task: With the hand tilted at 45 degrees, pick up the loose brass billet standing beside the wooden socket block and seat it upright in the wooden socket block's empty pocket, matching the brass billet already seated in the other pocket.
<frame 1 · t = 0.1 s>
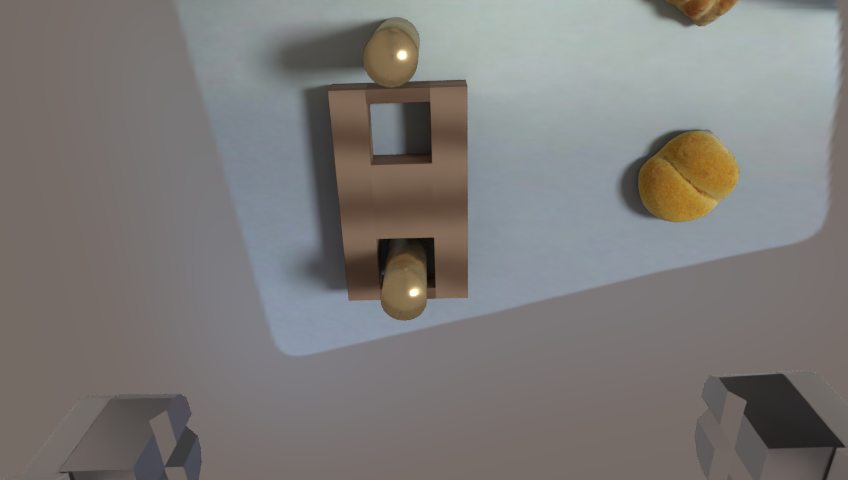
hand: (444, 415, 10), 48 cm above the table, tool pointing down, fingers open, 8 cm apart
loose billet: (397, 41, 53), on the table
bread roll: (682, 171, 58), on the table
seated billet: (407, 250, 62), resting in wooden socket block
wooden socket block: (404, 190, 59), on the table
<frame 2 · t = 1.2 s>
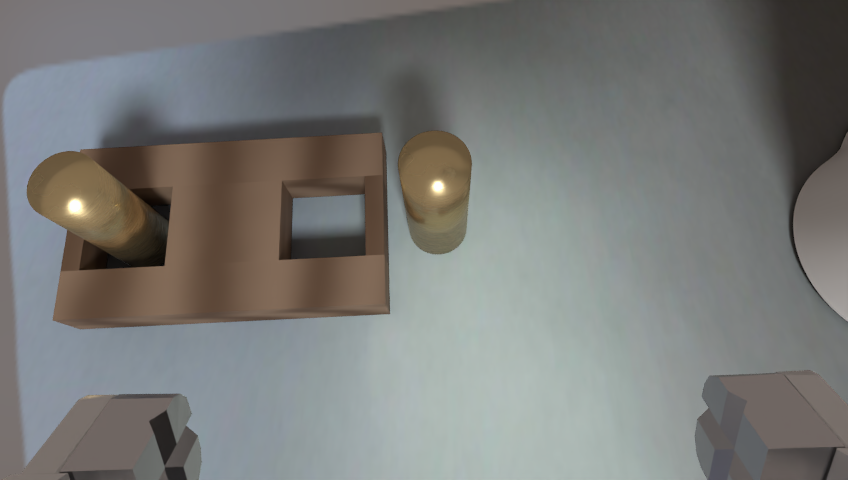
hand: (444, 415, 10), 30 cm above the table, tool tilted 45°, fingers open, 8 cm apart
loose billet: (437, 227, 42), on the table
seated billet: (148, 242, 43), resting in wooden socket block
wooden socket block: (239, 237, 42), on the table
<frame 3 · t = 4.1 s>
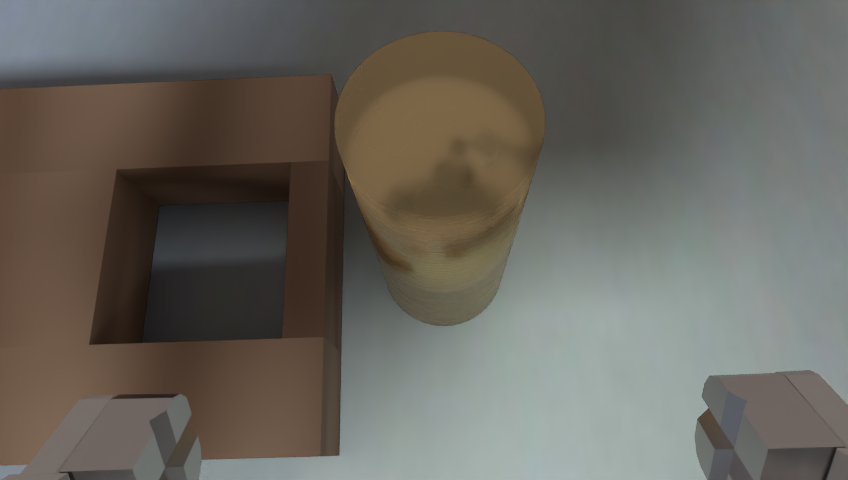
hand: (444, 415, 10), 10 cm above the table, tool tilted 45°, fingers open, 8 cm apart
loose billet: (443, 268, 21), on the table
wooden socket block: (45, 282, 21), on the table
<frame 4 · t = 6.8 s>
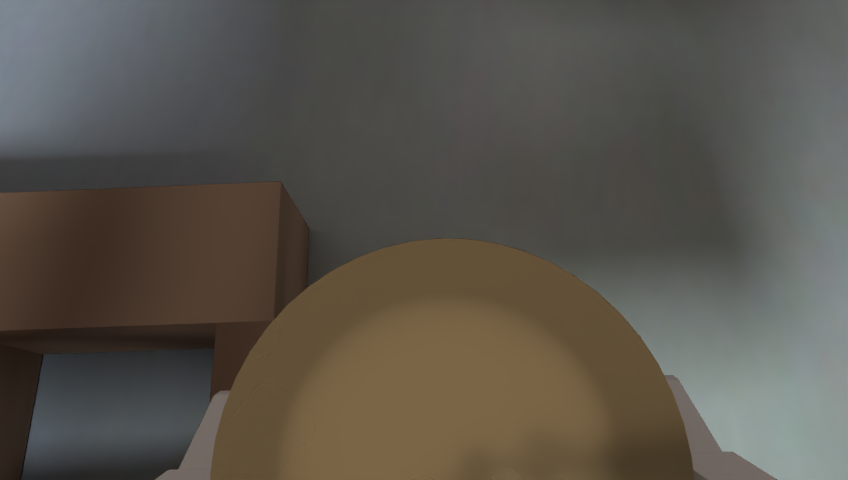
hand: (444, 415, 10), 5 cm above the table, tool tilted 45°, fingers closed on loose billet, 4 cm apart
loose billet: (445, 456, 14), on the table, touching gripper
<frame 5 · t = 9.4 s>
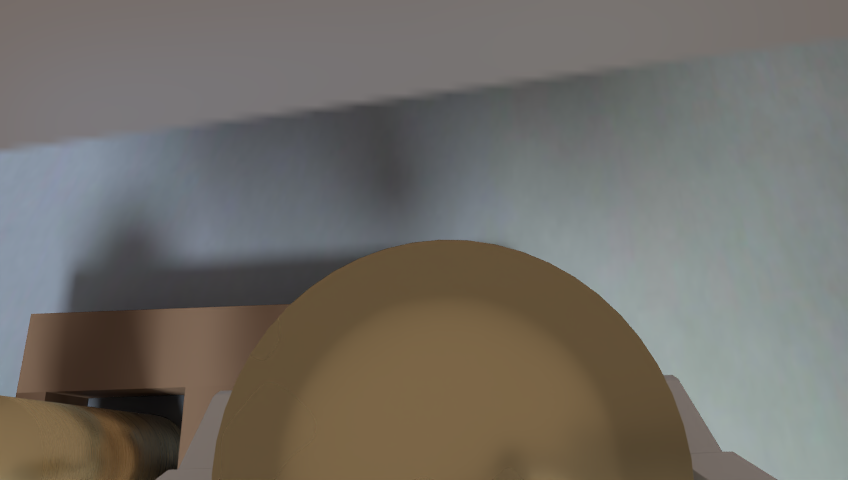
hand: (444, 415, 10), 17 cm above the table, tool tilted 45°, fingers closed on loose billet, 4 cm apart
loose billet: (446, 456, 14), point 12 cm above the table, touching gripper
seated billet: (142, 463, 26), resting in wooden socket block
wooden socket block: (293, 458, 26), on the table
when the fingers open (6 cm above the table, at t = 12.5 s): loose billet stays where it is, resting in wooden socket block.
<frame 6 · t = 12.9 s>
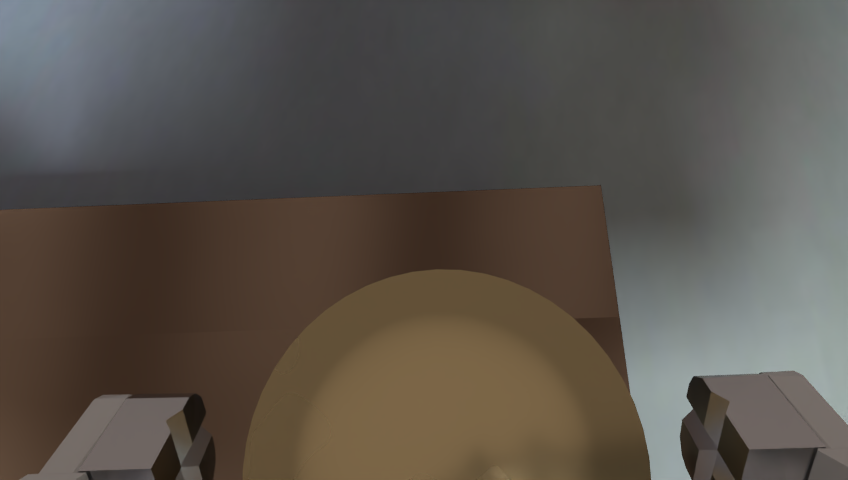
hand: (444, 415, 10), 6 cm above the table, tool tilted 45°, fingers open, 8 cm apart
loose billet: (444, 456, 15), resting in wooden socket block
wooden socket block: (191, 464, 15), on the table
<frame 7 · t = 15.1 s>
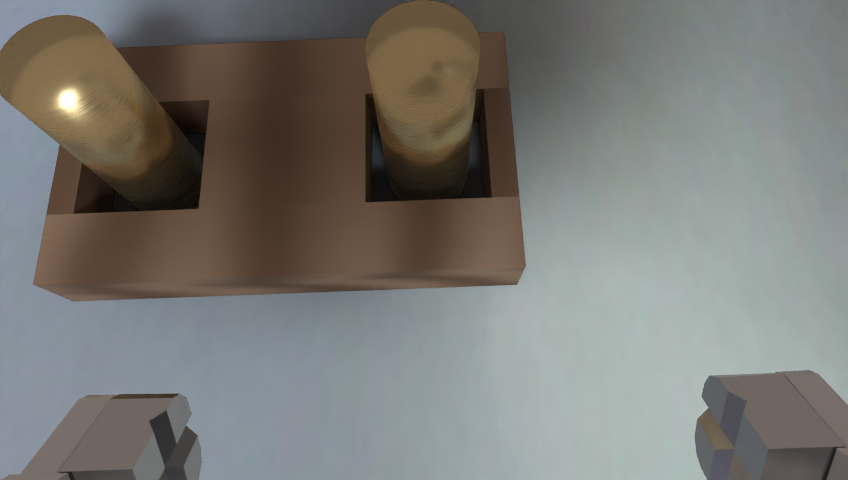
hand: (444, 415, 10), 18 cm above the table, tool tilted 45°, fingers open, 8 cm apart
loose billet: (427, 172, 30), resting in wooden socket block
seated billet: (171, 182, 31), resting in wooden socket block
wooden socket block: (298, 177, 30), on the table
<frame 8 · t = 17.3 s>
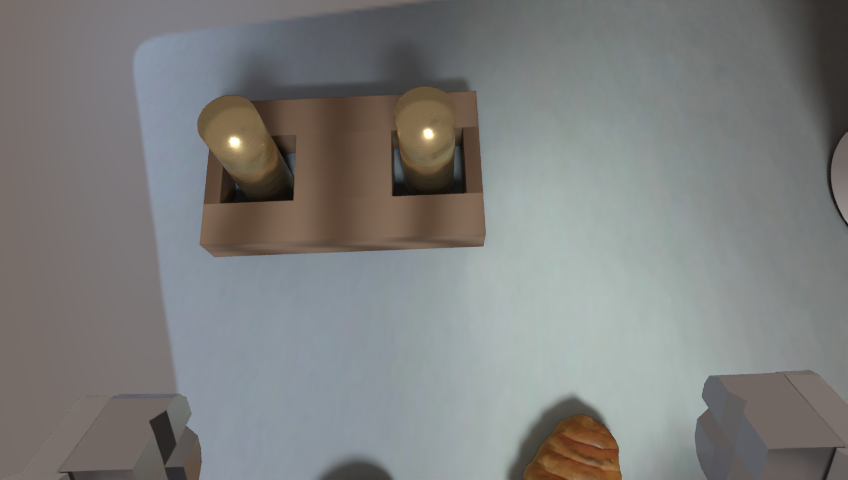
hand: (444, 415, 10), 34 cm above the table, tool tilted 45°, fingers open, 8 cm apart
loose billet: (429, 178, 49), resting in wooden socket block
seated billet: (269, 184, 49), resting in wooden socket block
wooden socket block: (349, 181, 49), on the table
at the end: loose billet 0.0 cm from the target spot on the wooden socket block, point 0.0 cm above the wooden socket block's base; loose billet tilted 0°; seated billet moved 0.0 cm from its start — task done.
